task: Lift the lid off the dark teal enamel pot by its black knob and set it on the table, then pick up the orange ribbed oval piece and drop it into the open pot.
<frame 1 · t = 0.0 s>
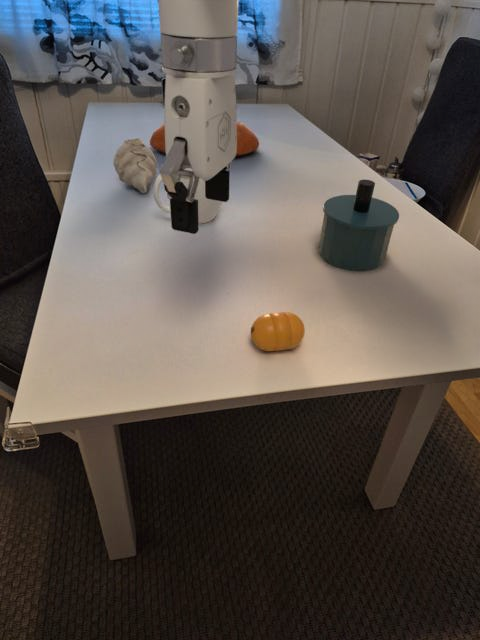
hand: (202, 214, 55), 18 cm above the table, tool pointing down, fingers open, 9 cm apart
mug: (193, 218, 95), on the table
seashell: (137, 185, 108), on the table
pot: (351, 254, 85), on the table
lid: (360, 212, 80), point 8 cm above the table, touching pot
bread: (205, 150, 131), on the table
orange ribbed oval piece: (276, 345, 64), on the table
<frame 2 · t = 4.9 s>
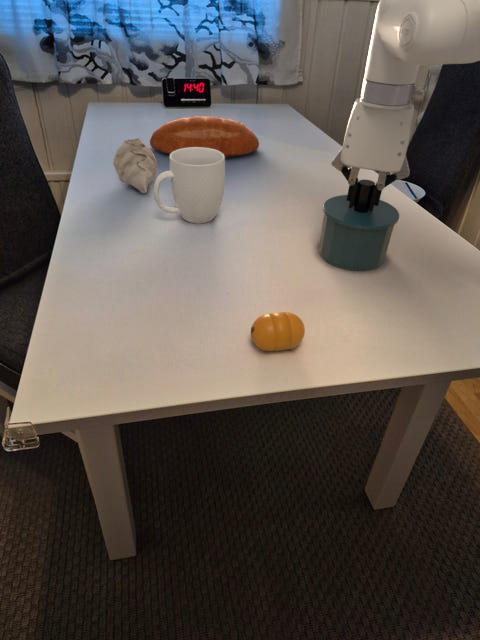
hand: (361, 205, 79), 10 cm above the table, tool pointing down, fingers closed on lid, 2 cm apart
lid: (360, 212, 80), point 9 cm above the table, touching gripper, pot
everything else where it was.
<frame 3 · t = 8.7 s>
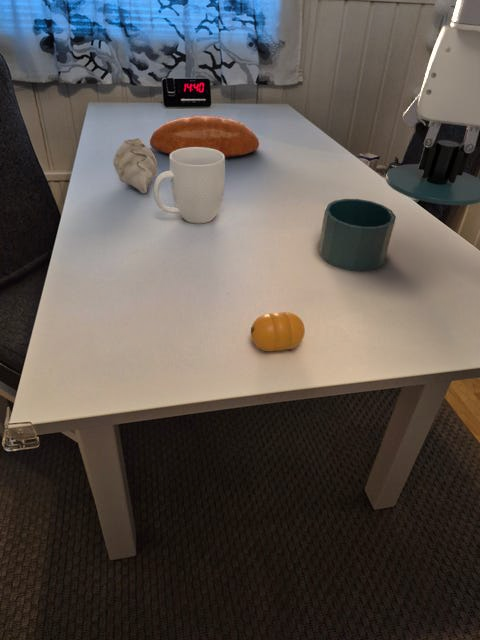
hand: (438, 176, 60), 21 cm above the table, tool pointing down, fingers closed on lid, 2 cm apart
lid: (435, 185, 61), point 20 cm above the table, touching gripper
everything else where it was.
when the fingers open (2 cm above the table, at t = 13.0 s): lid stays where it is, point 1 cm above the table.
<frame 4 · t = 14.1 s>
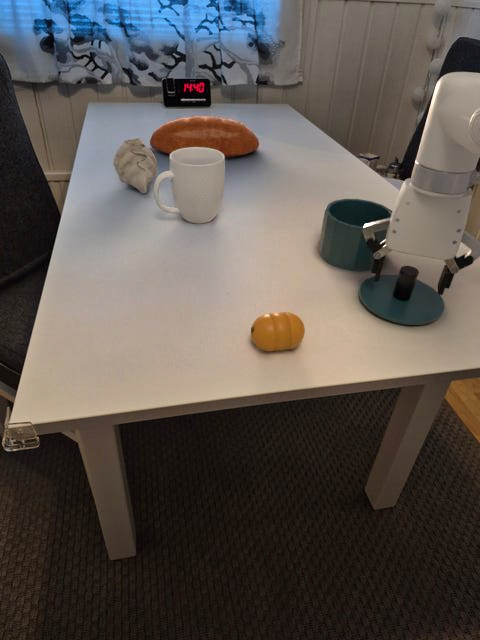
hand: (407, 283, 70), 4 cm above the table, tool pointing down, fingers open, 9 cm apart
lid: (400, 299, 73), point 1 cm above the table
everything else where it was.
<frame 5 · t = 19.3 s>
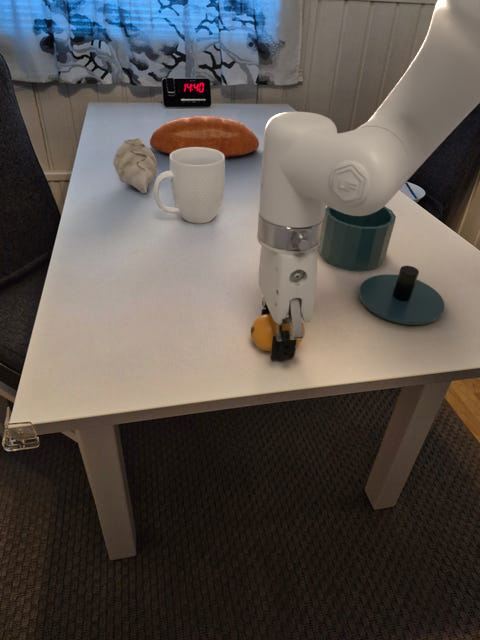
hand: (276, 342, 63), 0 cm above the table, tool pointing down, fingers closed on orange ribbed oval piece, 5 cm apart
orange ribbed oval piece: (276, 345, 64), on the table, touching gripper
everything else where it was.
when the fingers open (7 cm above the table, at t = 26.8 s): orange ribbed oval piece drops 6 cm, resting on pot.
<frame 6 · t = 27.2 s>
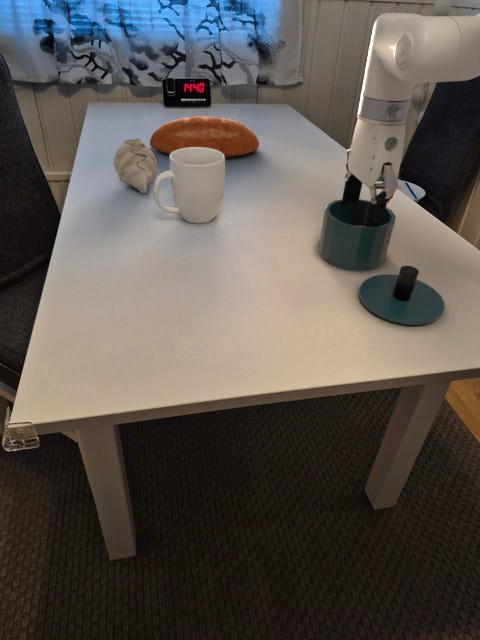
hand: (360, 212, 80), 9 cm above the table, tool pointing down, fingers open, 9 cm apart
orange ribbed oval piece: (351, 251, 85), point 1 cm above the table, touching pot
everything else where it was.
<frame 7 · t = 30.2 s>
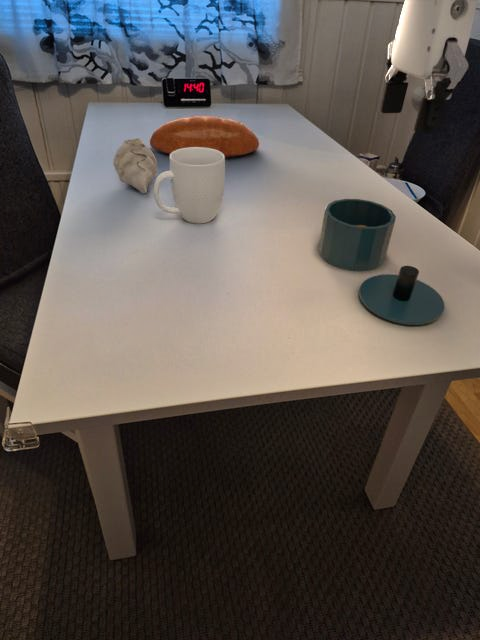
hand: (407, 121, 62), 26 cm above the table, tool pointing down, fingers open, 9 cm apart
nothing on the table moved.
at the end: lid inside the target area (0.1 cm from its centre), point 0.6 cm above the table; orange ribbed oval piece inside the target area in the pot (0.1 cm from its centre), point 0.5 cm above the pot's base; the gripper is holding nothing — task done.
